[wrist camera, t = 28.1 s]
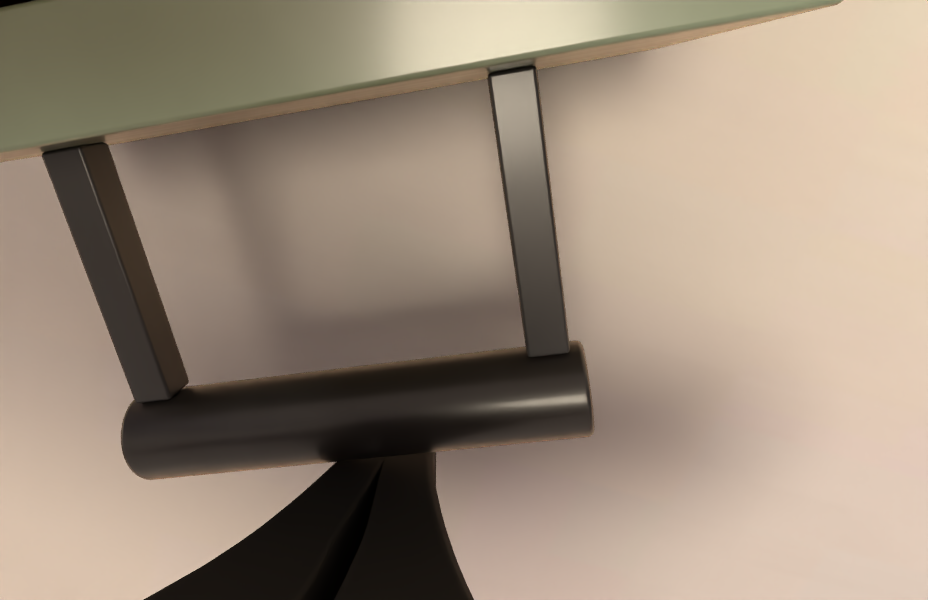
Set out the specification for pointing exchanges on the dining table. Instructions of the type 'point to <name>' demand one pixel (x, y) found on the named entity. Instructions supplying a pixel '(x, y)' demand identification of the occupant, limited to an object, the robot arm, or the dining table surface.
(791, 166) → the dining table surface
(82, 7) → the drawer
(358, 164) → the dining table surface
